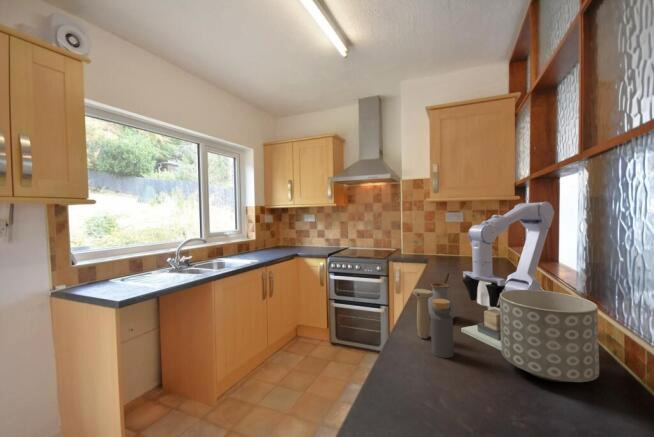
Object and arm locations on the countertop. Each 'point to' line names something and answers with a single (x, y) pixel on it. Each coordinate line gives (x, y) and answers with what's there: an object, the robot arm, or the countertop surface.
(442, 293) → the coffee pot
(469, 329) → the mounting board
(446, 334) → the bottle
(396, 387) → the countertop surface
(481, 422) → the countertop surface
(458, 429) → the countertop surface
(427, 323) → the handle
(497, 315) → the oak post
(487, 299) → the cup
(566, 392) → the countertop surface
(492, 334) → the grey square frame
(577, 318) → the planter
